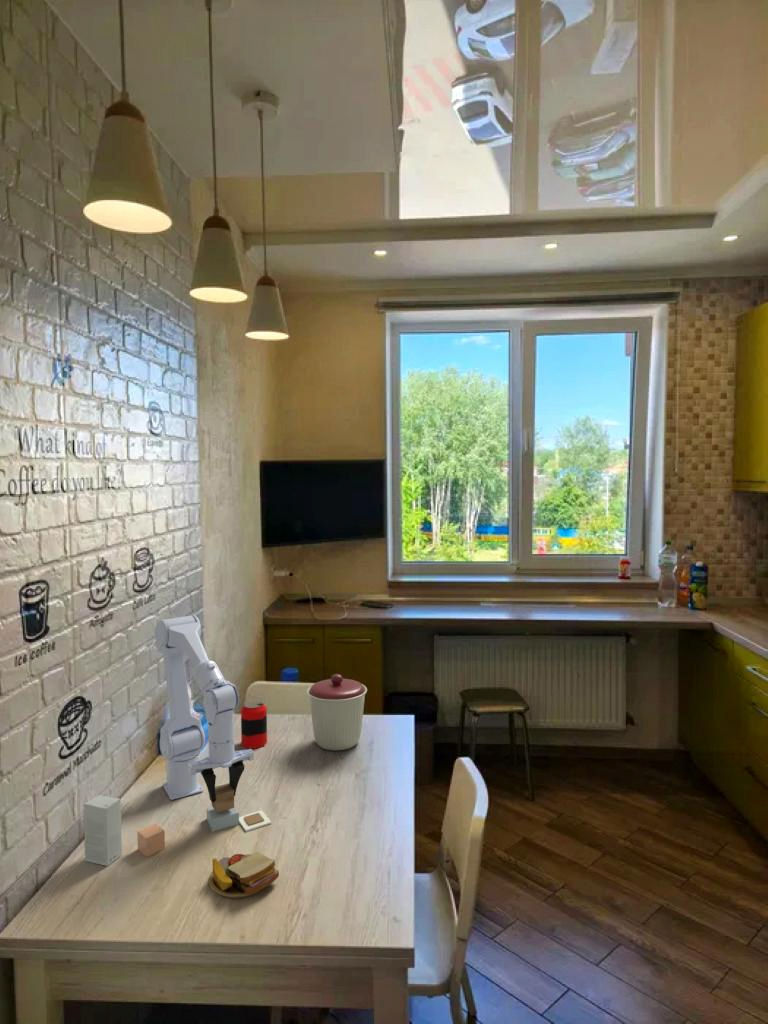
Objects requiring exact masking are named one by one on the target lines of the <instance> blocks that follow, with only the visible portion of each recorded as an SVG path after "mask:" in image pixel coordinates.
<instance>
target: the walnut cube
mask: <svg viewBox="0 0 768 1024" xmlns="http://www.w3.org/2000/svg"><path fill="white" fill-rule="evenodd" d="M234 805H235V796H234V790H233V789H232V787H231V786H230V785H229V782H228V783H225V784H221V785H218V786H215V802H211V806H213V808H214V809H215V811H216V812H217V813H218V812H222V811H225V810H228V809H232V808H234Z"/></svg>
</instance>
